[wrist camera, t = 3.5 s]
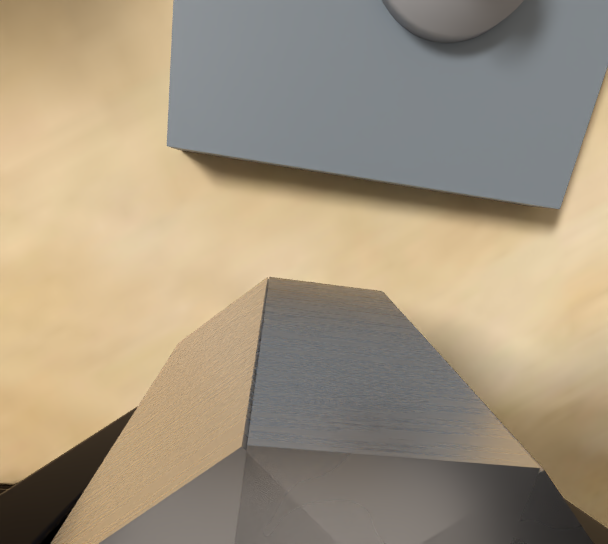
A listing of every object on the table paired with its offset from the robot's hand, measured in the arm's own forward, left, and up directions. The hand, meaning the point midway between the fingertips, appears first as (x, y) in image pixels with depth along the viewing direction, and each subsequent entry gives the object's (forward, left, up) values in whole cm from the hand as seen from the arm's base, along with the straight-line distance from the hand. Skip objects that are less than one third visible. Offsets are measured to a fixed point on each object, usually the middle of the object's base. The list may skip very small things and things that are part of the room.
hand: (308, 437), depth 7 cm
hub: (0, 0, -1) cm, 1 cm away
